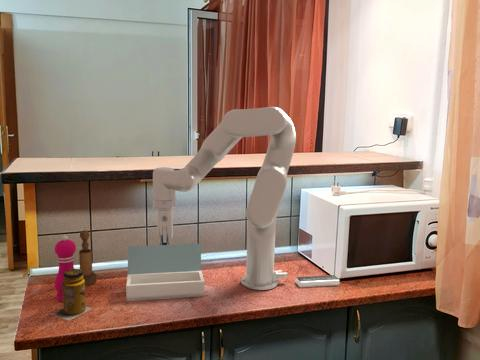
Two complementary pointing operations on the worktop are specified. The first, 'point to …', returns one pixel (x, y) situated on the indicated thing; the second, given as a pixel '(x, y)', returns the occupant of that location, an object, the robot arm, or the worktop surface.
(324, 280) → the multiport hub
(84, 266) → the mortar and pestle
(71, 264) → the pepper mill
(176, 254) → the cover
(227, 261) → the worktop surface
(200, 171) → the robot arm
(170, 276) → the white open box
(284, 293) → the worktop surface
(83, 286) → the condiment
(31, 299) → the worktop surface
